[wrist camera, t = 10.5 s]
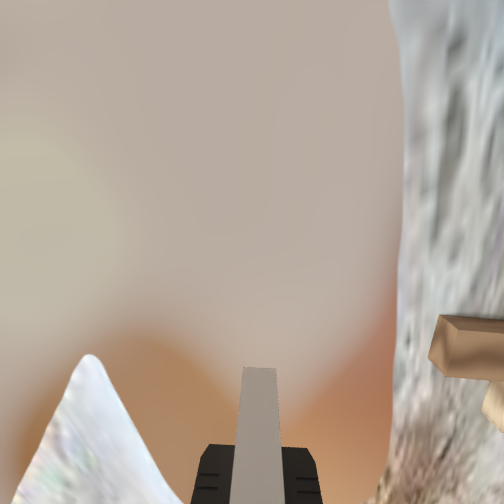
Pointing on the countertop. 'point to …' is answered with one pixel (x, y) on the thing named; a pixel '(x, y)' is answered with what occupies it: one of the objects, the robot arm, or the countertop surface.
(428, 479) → the countertop surface
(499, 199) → the countertop surface
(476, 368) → the block
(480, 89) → the countertop surface
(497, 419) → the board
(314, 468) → the robot arm
